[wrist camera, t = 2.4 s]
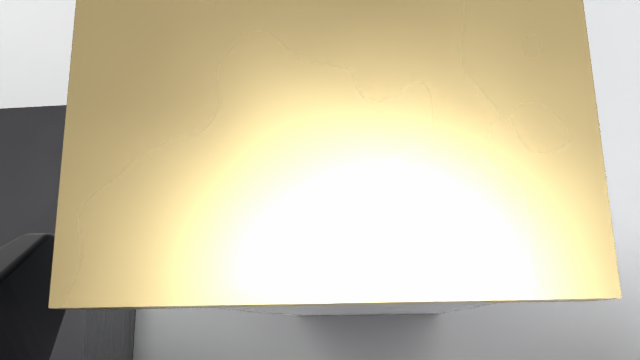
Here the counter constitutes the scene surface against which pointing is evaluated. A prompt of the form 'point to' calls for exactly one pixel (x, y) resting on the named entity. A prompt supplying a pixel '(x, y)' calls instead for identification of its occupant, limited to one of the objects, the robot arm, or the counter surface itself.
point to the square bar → (331, 157)
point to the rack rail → (51, 224)
